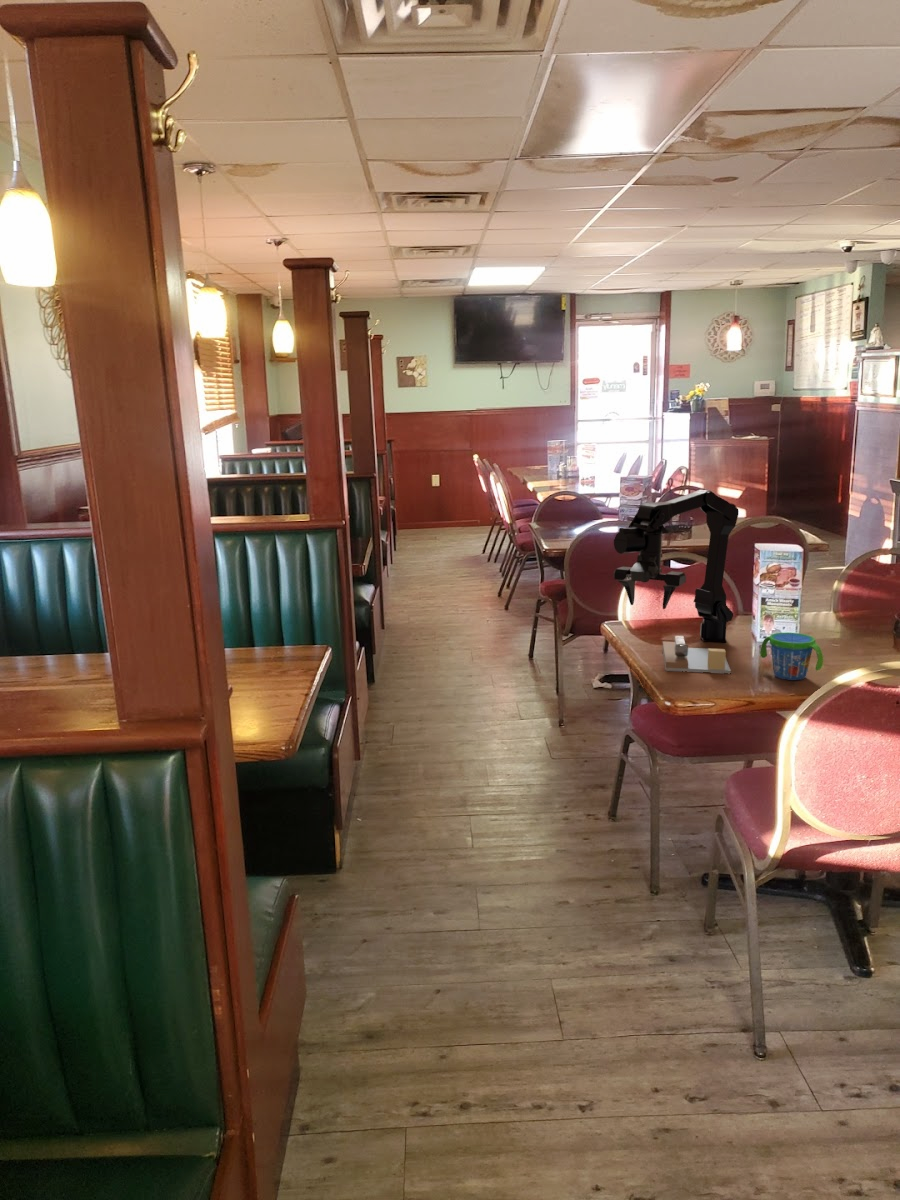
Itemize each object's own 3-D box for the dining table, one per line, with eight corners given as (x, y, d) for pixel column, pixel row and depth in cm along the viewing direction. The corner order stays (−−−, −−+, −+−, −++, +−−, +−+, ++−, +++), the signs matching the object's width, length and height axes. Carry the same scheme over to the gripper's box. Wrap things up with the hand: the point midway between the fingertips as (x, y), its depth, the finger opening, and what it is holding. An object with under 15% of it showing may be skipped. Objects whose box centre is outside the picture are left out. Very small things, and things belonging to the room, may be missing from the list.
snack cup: (749, 672, 215) (752, 633, 213) (776, 665, 221) (779, 627, 218) (803, 688, 202) (806, 647, 200) (830, 681, 208) (834, 641, 205)
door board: (722, 651, 233) (723, 632, 232) (730, 673, 214) (732, 652, 213) (662, 649, 236) (663, 630, 235) (665, 670, 217) (666, 649, 216)
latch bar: (688, 656, 218) (688, 647, 217) (675, 656, 218) (675, 646, 218) (684, 643, 230) (685, 634, 230) (672, 642, 231) (673, 633, 230)
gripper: (605, 551, 228) (604, 608, 231) (673, 558, 217) (670, 617, 221) (622, 546, 237) (620, 600, 240) (688, 551, 226) (685, 608, 230)
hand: (647, 606), depth 232 cm, fingers open, 9 cm apart
